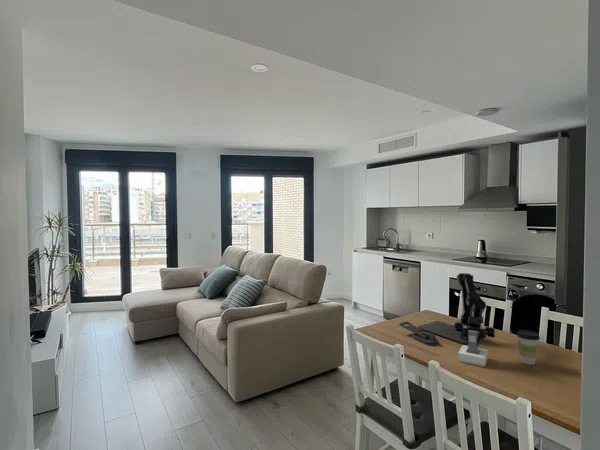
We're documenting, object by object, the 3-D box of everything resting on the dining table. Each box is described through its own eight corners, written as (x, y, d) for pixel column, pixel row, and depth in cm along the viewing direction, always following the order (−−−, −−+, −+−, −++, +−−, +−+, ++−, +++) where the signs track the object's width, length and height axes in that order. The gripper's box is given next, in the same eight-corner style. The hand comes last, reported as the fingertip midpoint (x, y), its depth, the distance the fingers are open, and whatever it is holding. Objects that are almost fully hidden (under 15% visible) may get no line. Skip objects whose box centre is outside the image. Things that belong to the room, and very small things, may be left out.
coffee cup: (512, 359, 175) (512, 331, 175) (524, 356, 179) (524, 328, 179) (531, 367, 166) (531, 337, 166) (544, 363, 170) (544, 334, 170)
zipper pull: (407, 320, 220) (440, 332, 199) (407, 330, 221) (440, 343, 199) (397, 323, 216) (430, 335, 194) (397, 333, 216) (430, 346, 194)
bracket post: (469, 354, 179) (469, 329, 178) (477, 355, 177) (477, 331, 176) (468, 357, 175) (467, 332, 175) (476, 359, 173) (476, 333, 172)
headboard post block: (462, 353, 185) (462, 345, 184) (487, 358, 178) (487, 349, 177) (458, 361, 175) (458, 352, 175) (484, 367, 168) (484, 358, 168)
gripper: (455, 307, 184) (450, 333, 175) (494, 312, 173) (492, 341, 164) (457, 317, 191) (453, 343, 182) (496, 323, 180) (493, 351, 171)
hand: (472, 344), depth 175 cm, fingers closed on bracket post, 4 cm apart
